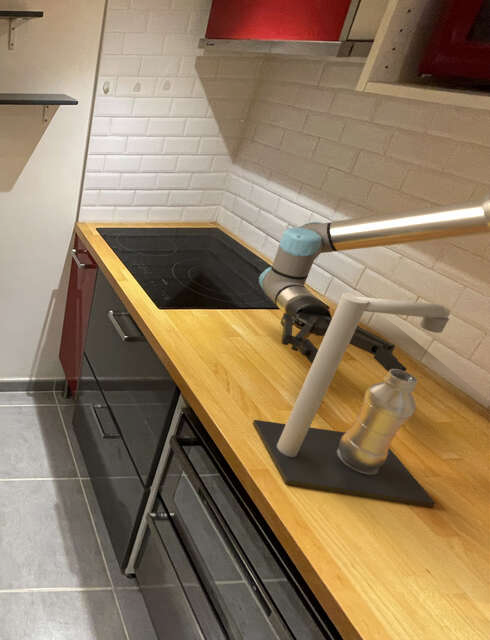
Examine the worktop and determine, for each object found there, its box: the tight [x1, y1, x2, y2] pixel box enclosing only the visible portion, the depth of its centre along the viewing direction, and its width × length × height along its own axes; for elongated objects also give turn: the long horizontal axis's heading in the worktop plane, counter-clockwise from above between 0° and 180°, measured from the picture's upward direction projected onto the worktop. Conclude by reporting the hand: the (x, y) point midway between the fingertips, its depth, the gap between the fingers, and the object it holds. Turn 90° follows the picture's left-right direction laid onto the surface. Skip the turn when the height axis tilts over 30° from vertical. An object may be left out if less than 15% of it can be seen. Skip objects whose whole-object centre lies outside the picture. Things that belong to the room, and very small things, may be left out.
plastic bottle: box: [339, 369, 418, 470], centre depth 79 cm, size 6×7×20 cm
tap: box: [252, 292, 451, 509], centre depth 77 cm, size 23×14×35 cm, turn 80°
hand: (361, 369), depth 85 cm, fingers open, 13 cm apart
